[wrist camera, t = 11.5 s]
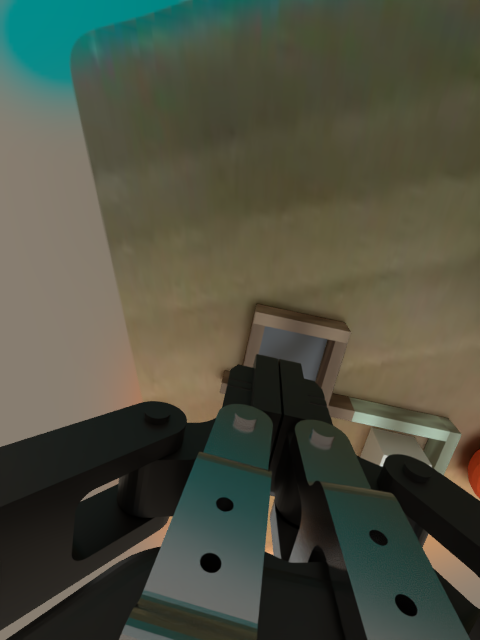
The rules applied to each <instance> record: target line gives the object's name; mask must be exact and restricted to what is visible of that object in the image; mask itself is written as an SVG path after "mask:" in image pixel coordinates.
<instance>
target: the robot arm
mask: <svg viewBox="0 0 480 640" xmlns="http://www.w3.org/2000/svg"><path fill="white" fill-rule="evenodd" d="M117 478H119V484H117V485H115V486H113V487H111V488H109V489H107V490H105V491H102V492H100V493H98V494H96V495H94V496H92V497H90V498H88V499H86V500H83V501H81V500H82V499H83V498H84V497H85V496H86V495H87V494H88V493H89V492H91V491H92V490H94V489H96V488H98V487H100V486H102V485H104V484H107V483H109V482H111V481H113V480H115V479H117ZM270 492H275V499H274V503H273V506H272V510H271V513H270V522H271V532H272V542H273V552H274V556H273V555H271V554H269V553H267V552H265V542H266V531H267V520H268V510H269V499H270ZM80 501H81V502H80ZM169 516H173V518H172V520H171V523H170V525H169V528H168V530H167V533H166V535H165V538H164V540H163V543H162V546H161V547H156V548H152V549H148V550H145V551H142V552H139V553H137V554H134V555H131V556H130V557H128V558H126V559H124V560H122V561H120V562H118V563H117V564H115V565H113V566H112V567H110V568H109V569H108V570H106V571H105V572H103V573H102V574H100V575H99V576H98V577H96V578H95V579H93V580H92V581H90V582H89V583H87V584H86V585H84V586H83V587H81V588H80V589H79V590H77V591H76V592H74V593H73V594H71V595H70V596H68V597H67V598H66V599H64V600H63V601H61V602H60V603H58V604H57V605H55V606H54V607H53V608H51V609H50V610H48V611H47V612H45V613H44V614H42V615H41V616H40V617H38V618H37V619H35V620H34V621H32V622H31V623H29V624H28V625H27V626H25V627H24V628H22V629H21V630H19V631H18V632H17V633H15V634H13V635H12V636H11V637H9V638H8V639H6V640H480V609H478V608H477V607H475V606H474V605H473V604H472V603H470V601H468V600H467V599H466V598H465V597H464V596H463V595H462V594H461V593H460V592H459V591H458V590H456V589H455V588H454V587H453V586H452V585H451V584H450V583H449V582H448V581H447V580H446V579H444V578H443V577H442V576H441V575H440V574H439V573H438V572H437V571H436V570H434V569H433V568H432V565H431V563H430V562H429V560H428V558H427V556H426V554H425V552H424V550H423V548H422V547H423V545H424V543H425V540H426V538H427V536H428V534H430V535H431V536H432V537H434V538H435V539H436V540H437V541H438V542H439V543H441V544H442V545H443V546H444V547H445V548H446V549H448V550H449V551H450V552H451V553H452V554H453V555H455V556H456V557H457V558H458V559H459V560H460V561H462V562H463V563H464V564H465V565H466V566H467V567H469V568H470V569H471V570H472V571H473V572H474V573H475V574H477V576H478V577H479V578H480V501H479V500H478V499H476V498H475V497H473V496H472V495H470V494H469V493H468V492H466V491H465V490H463V489H462V488H461V487H459V486H458V485H456V484H455V483H453V482H452V481H451V480H449V479H448V478H446V477H445V476H444V475H442V474H441V473H439V472H438V471H436V470H435V469H434V468H432V467H431V466H429V465H428V464H426V463H424V462H422V461H420V460H418V459H416V458H413V457H411V456H407V455H402V454H392V455H389V456H387V458H386V459H385V461H384V464H383V467H382V466H379V465H377V464H375V463H372V462H370V461H367V460H365V459H363V458H361V457H359V456H357V455H356V454H355V452H354V450H353V448H352V445H351V443H350V441H349V439H348V437H347V436H346V435H345V434H344V433H343V432H342V431H341V430H339V429H338V428H336V427H335V426H333V424H332V421H331V417H330V414H329V410H328V407H327V403H326V400H325V396H324V393H323V390H322V389H321V388H320V386H319V385H318V384H317V383H316V382H315V381H313V380H308V379H304V375H303V371H302V366H301V363H297V362H293V361H288V360H283V359H279V360H278V358H274V357H269V356H264V355H260V354H256V356H255V360H254V364H253V368H252V367H247V366H243V365H237V366H235V367H234V368H232V369H231V370H230V374H229V379H228V383H227V388H226V392H225V397H224V402H223V406H222V408H221V409H220V410H219V412H218V415H217V417H216V418H215V419H213V420H210V421H207V422H201V423H187V419H186V416H185V414H184V413H183V412H182V411H181V410H180V409H179V408H177V407H176V406H173V405H171V404H168V403H164V402H156V401H150V402H143V403H139V404H136V405H132V406H129V407H126V408H123V409H120V410H117V411H113V412H110V413H107V414H104V415H101V416H98V417H94V418H91V419H88V420H85V421H82V422H79V423H75V424H72V425H69V426H66V427H63V428H60V429H56V430H53V431H50V432H47V433H44V434H40V435H37V436H34V437H31V438H28V439H24V440H21V441H18V442H15V443H12V444H9V445H5V446H2V447H0V630H2V629H3V628H5V627H6V626H8V625H10V624H11V623H13V622H14V621H16V620H18V619H19V618H21V617H22V616H24V615H26V614H27V613H29V612H30V611H32V610H33V609H35V608H37V607H38V606H40V605H41V604H43V603H45V602H46V601H48V600H49V599H51V598H52V597H54V596H56V595H57V594H59V593H60V592H62V591H63V590H65V589H66V588H68V587H70V586H71V585H73V584H75V583H76V582H78V581H79V580H81V579H82V578H84V577H85V576H87V575H89V574H90V573H92V572H94V571H95V570H97V569H98V568H100V567H101V566H103V565H105V564H106V563H108V562H109V561H111V560H112V559H114V558H116V557H117V556H119V555H120V554H122V553H124V552H125V551H127V550H128V549H130V548H131V547H133V546H135V545H136V544H138V543H139V542H141V541H143V540H144V539H146V538H147V537H149V536H150V535H152V534H154V533H155V532H157V531H158V530H160V529H161V528H162V527H163V526H164V525H165V524H166V523H167V521H168V519H169Z"/></svg>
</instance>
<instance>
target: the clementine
mask: <svg viewBox="0 0 480 640" xmlns="http://www.w3.org/2000/svg"><path fill="white" fill-rule="evenodd" d="M468 478H469V482H470V484H471V487H472V489H473V491H474V493H475V494H476V495H477V496H478V497H479V498H480V449H479V450H478V451H477V452H476V453H475V454H474V455H473V456H472V458H471V460H470V462H469V465H468Z"/></svg>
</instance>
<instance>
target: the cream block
mask: <svg viewBox="0 0 480 640" xmlns="http://www.w3.org/2000/svg"><path fill="white" fill-rule="evenodd" d="M392 454H402V455H407V456H411V457H413V458H416V459H418V460H420V461H422V462H424V463H426V464H428V465H429V466H431V467H432V465H431V463H430V461H429V460H428V458H427V456H426V455H425V453H424V452H423V450H422V448H421V447H420V445H419V444H418V442H417V440H416V439H415V437H412V436H408V435H403V434H399V433H394V432H390V431H385V430H381V429H377V428H372V427H371V429H370V432H369V434H368V437H367V440H366V442H365V445H364V448H363V451H362V453H361V456H360V457H361V458H363V459H365V460H367V461H370V462H372V463H375V464H377V465H379V466H382V467H383V464H384V461H385V459H386V458H387V456H389V455H392Z"/></svg>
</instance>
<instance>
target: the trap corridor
mask: <svg viewBox="0 0 480 640" xmlns="http://www.w3.org/2000/svg"><path fill="white" fill-rule="evenodd" d="M350 334H351V331H350V330H349V328H348V326H347V325H346V323H344V322H340V321H335V320H330V319H326V318H321V317H316V316H312V315H307V314H302V313H298V312H293V311H288V310H284V309H279V308H274V307H270V306H265V305H260V304H256V308H255V313H254V317H253V322H252V326H251V330H250V335H249V339H248V344H247V348H246V353H245V357H244V362H243V366H247V367H252V368H253V364H254V360H255V356H256V354H260V355H264V356H269V357H274V358H278V360H279V359H283V360H288V361H293V362H297V363H301V366H302V371H303V375H304V379H308V380H313V381H316V383H317V384H318V385H319V386H320V388H321V389H322V390H323V393H324V396H325V400H326V403H327V407H328V410H329V414H330V417H334V418H339V419H343V420H348V421H352V422H357V423H362V424H366V425H371V426H376V427H380V428H385V429H390V430H394V431H399V432H404V433H408V434H413V435H418V436H422V437H427V438H429V439H428V441H427V443H426V446H425V448H424V451H423V452H424V453H425V455H426V456H427V458H428V460H429V461H430V463H431V465H432V468H434V469H435V470H436V471H438V472H439V473H441V474H442V475H444V473H445V471H446V468H447V466H448V464H449V462H450V459H451V457H452V455H453V453H454V450H455V448H456V446H457V444H458V441H459V439H460V437H461V435H462V434H461V433H460V432H459V430H458V429H457V428H456V427H455V426H454V424H453V423H452V422H451V421H450V420H449V418H444V417H439V416H435V415H430V414H425V413H421V412H416V411H411V410H407V409H402V408H397V407H393V406H388V405H383V404H379V403H374V402H369V401H365V400H360V399H356V398H351V397H346V396H342V395H337V394H332V392H333V389H334V386H335V382H336V379H337V376H338V373H339V370H340V366H341V363H342V360H343V357H344V353H345V350H346V347H347V344H348V341H349V337H350ZM327 340H328V342H327ZM326 343H327V345H326ZM325 346H326V349H325ZM324 350H325V352H324ZM323 353H324V355H323ZM322 357H323V359H322ZM321 360H322V362H321ZM320 364H321V366H320ZM319 367H320V369H319ZM318 370H319V372H318ZM229 374H230V371H225V372H224V376H223V380H222V384H221V389H220V393H222V394H225V392H226V388H227V383H228V379H229ZM317 374H318V376H317ZM316 377H317V379H316ZM270 495H271V496H275V492H270Z"/></svg>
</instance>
